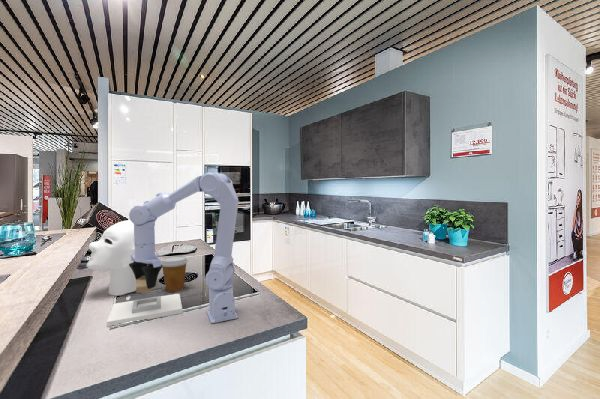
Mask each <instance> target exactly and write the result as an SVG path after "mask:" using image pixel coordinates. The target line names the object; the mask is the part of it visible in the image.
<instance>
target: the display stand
mask: <svg viewBox="0 0 600 399" xmlns="http://www.w3.org/2000/svg"><path fill="white" fill-rule="evenodd" d="M181 314H183V305H182V301H181V295H180V293H174V294H167V295H160V296H153V297H145V298H138V299H133V300H129V301H122V302H117V303H113V304H112V307H111V309H110V312H109V314H108V318H107V320H106V328H110V327H111V326H110V325H114V324H119V323H124V322H130V321H137V320H143V321H145V320H144V319H148V320H153V319H157V318H163V317H164V318H165V317H170V316H174V315H181Z"/></svg>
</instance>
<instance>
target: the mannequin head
mask: <svg viewBox="0 0 600 399" xmlns="http://www.w3.org/2000/svg"><path fill="white" fill-rule="evenodd" d="M88 249H89V250H90V251H91V254H90V256H89V260H88V261H87V263H86V267H87V268H88V269H89V270H92V271H98V272H105V271H110V274H109V276H110V277H109V283H108V284H109V286H108V291H107V292H108V295H110V296H115V297H116V296H117V297H118V296H122V295H126V294H129V293H133V292H136V279H135V275H134V273H133V271H132V269H131V267H130V266H129V264H130V263H133V262H134V261H131V255H132V254H135V246H134V223H132V222H131V220H130V219H128V220H122V221H118V222H117V223H114V224H112V225H110V226H109V227H108V228H106V229H105V230H104V231H103V233H102V235H101V237H100V238H99V240H97V241H92V242H90V243H89V245H88Z"/></svg>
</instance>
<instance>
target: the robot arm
mask: <svg viewBox="0 0 600 399" xmlns="http://www.w3.org/2000/svg"><path fill="white" fill-rule="evenodd" d="M200 192H201V193H205V194H207V195H209V196H210V197H212V198H213V199H214V200H215V201H216V202H217V203H218V204H219V205H220V206H219V207H220V208H219V214H218V215H219V216H218V224H217V230H216V240H215V246H214V252H213V253H214V256H213V257H212V260H211V262H210V266H209V270H208V271H207V273H206V275H205V278H204V279H205V283H206V285H207V287H208V299H209V300H208V303H209V304H208V307H209V308H208V309H206V314H207V316H208V319H209V322H210V323H211V324H215V323H221V322H225V321H230V320H235V319H238V318H239V315H238V314H237V312H236V308H235V304H236V303H235V296H234V285H233V284H234V282H233V280H232V278H233V277H234V275H235V271H236V270H235V266H234V258H233V256H232V255H233V248H234V247H233V246H234V241H235V240H234V239H235V238H234V237H235V230H236V223H237V218H238V217H237V216H238V215H237V214H238V207H239V197H238V195H237V193H236V190H235V188H234V185H233V181H232V179H230V177H228V175H226V174H224V173H222V172H220V173H219V172H218V173H217V172H216V173H215V172H212V171H209V172H204V173H203V174H202V175H199V176H197V177H195V178H194V179H191V180H190V181H188V182H187V183H185V184H184V185H182V186H180V187H179V188H177V189H175V190H173V191H172V192H171V193H169V192H168V193H167V192H163V193H162V192H159V193H156V195H155V196H156V197H153V198H152V199H151V200H145V201H144V202H143V205H134V206H133V207H132V208H131V209H130V211H129V214H128V216H129V217H128V218H129V220H131V222H132V223H134V246H135V254H132V255H131V261H134V262H133V263H130V264H129V266H130V267H131V269H132V271H133V273H134V275H135V279H136V280H137V279H138V278H140V277H142V276H145V278H146V284H147V288H148V289H150V288H153V287H155V288H156V285H157V280H158V276H159V274H160V271H161V270H162V269H163V268H162V265H161V262H162V259H159V257H160V255H159V254H157V253H156V236H155V232H156V231H155V229H156V228H155V226H156V222H157V219H158V218H160V217H162V216H163V215H165V214H167V213H169V212H170V211H172V210H174V209H175V208H176V204H177V203H178V202H181V201H182V200H185V199H187V198H189V197H190V196H192V195H194V194H196V193H200Z"/></svg>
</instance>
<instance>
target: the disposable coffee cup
mask: <svg viewBox="0 0 600 399" xmlns="http://www.w3.org/2000/svg"><path fill="white" fill-rule="evenodd" d="M187 262H188V259H187V257H186V256H184V255H172V256H167V257H163V258H162V259H161V265H162V268H161V269H162V273H163V280H164V285H165V290H166V292H168V293H169V292H170V293H175V292H180V291H182V290H184V288H185V279H186V271H187V270H186V269H187Z"/></svg>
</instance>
